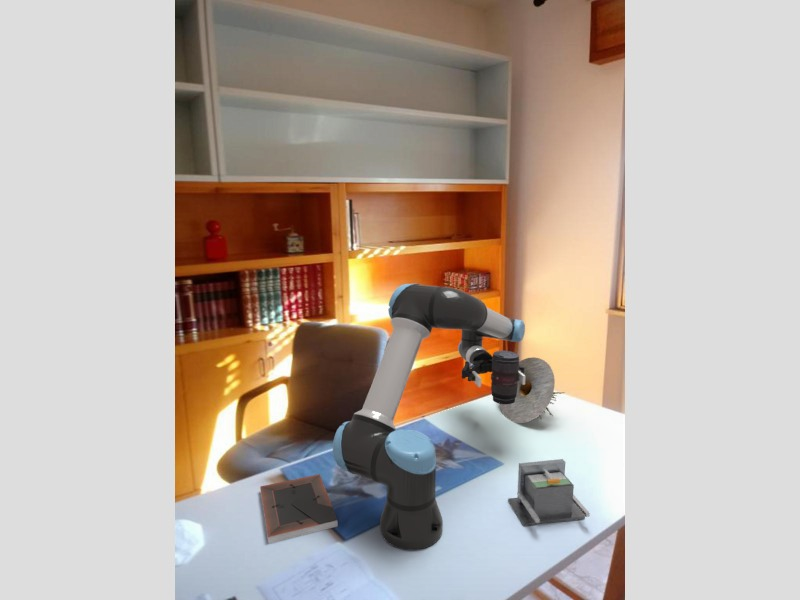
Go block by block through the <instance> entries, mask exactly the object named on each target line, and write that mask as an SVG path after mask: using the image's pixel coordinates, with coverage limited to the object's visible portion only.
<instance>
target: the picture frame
mask: <svg viewBox="0 0 800 600" xmlns="http://www.w3.org/2000/svg"><path fill="white" fill-rule="evenodd" d="M259 488H260V495H261V502H262V511H263V516H264V517H263V518H264V523H265V530H266V535H267V543H268V544H273V543H274V544H275V543H277V542H281V541H282V542H283V541H285V540H289V539H293V538H297V537H301V536H304V535H308V534H313V533H317V532H320V531H324V530H329V529H333V528H337V527H339V524H338V518H337V515H336V512H335V510H334V507H333V505H332V502H331V500H330V497H329V495H328V491H327V489H326V486H325V484H324V481H323V479H322V476H321V474H320V473H317V474H313V475H309V476H304V477H299V478H294V479H289V480H285V481H280V482H275V483H271V484H267V485H266V484H265V485H261V486H260V487H259Z"/></svg>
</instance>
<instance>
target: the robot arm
mask: <svg viewBox="0 0 800 600" xmlns="http://www.w3.org/2000/svg"><path fill="white" fill-rule="evenodd" d="M388 306H389V308H388V314H389V315H388V316H389V318H390V324H391V326H392V332H391V335H390V336H389V340H388V341H387V344H386V347H385V349H384V352H383V355H382V357H381V360H380V361H379V365H378V367H377V370H376V372H375V375H374V378H373V380H372V383H371V386H370V388H369V390H368V393H367V395H366V397H365V401H364V402H363V406H362V409H360V410H358V411H356V412H354V413H353V415H352V418H351V420H348V421H344V422H343V423H342V424H341V425H339V427H338V428H337V429H336V432H335V435H334V437H333V440H332V441H333V442H332V454H333V458H334V461H335V463H336V465H337V466H338V467H339V468H340V469H342V470H344V471H347V472H348V473H349V474H352V475H356V476H360V477H362V478H364V479H367V480H370V481H373V482H375V483H379V484H380V485H384V486H385V487H386V501H385V503H384V505H383V506H384V507H383V510H382V512H381V515H380V520H379V531H380V534H381V536H382V538H383V540H385V542H386V543H388V544H389V545H391V546H393V547H395V548H399V549H401V550H408V551H413V550H414V551H416V550H422V549H426V548H428V547H430V546H433V545H434V544H435V543H436V542H437V541H439V540H440V538H441V536H442V534H443V530H444V529H443V523H444V522H443V516H442V514H441V511H440V508H439V505H438V502H437V499H436V486H437V485H436V478H437V477H436V474H437V473H436V472H437V469H436V468H437V467H436V466H437V457H436V456H437V455H436V448H435V444H434V443H433V441H432V440H431V438H430V437H429V436H428V435H426V434H424V433H423V432H420V431H418V430H414V429H409V428H408V429H403V428H402V429H401V428H400V429H397V428H396V426H395V423H394V418H395V416H396V415H397V414H396V413H397V411H398V408H399V405H400V403H401V399H402V397H403V394H404V391H405V388H406V386H407V384H408V383H407V382H408V380H409V378H410V375H411V372H412V369H413V367H414V365H415V361H416V358H417V355H418V353H419V351H420V350H419V349H420V347H421V344H422V342H423V340H425V339H427V338H429V337H430V335H431V333H432V330H433V328H434V329H443V330H460V331H461V339H460V342H459V344H458V345H457V351H458V353H459V355H460V357H461V358H462V359H463V360H464V366H463V368H462V369H461V379H463V380H464V379H466V378H467V382H474V384H475V385H476V386H477V387H478V388H482V377H481V376H480V375H481V374H483V375H484V374H486V373H492V357H493V354H492V355H491V353H490V352H488V351H487V350H486V349H485V348H484V347H483V341H484V338H489V339H496V340H500V341H501V340H502V341H508V342H512V343H513V342H515V343H516V342H517V343H520V342H522V341H523V339H524V338H525V332H526V326H525V325H526V323H525V321H523V320H521V319H517V318H509V317H508V316H505V315H503V314H501V313H499V312H497V311H495V310H493V309H491V308H490V307H487V306H486V304H485V303H484V301H482V300H481V299H479V298H477V297H475V296H473V295H472V294H469V293H467V292H465V291H462V290H459V289H456V288H454V287H450V286H438V285H429V284H428V285H426V284H419V283H405V284H401V285H400V286H398V287H397V288H395V290H394V291H393V293H392V294H391V296H390V298H389V302H388ZM518 381H519V382H520V383H521V384H522V385H525V375H524V367H521V366H519V371H518Z"/></svg>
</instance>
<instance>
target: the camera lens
mask: <svg viewBox="0 0 800 600" xmlns="http://www.w3.org/2000/svg"><path fill="white" fill-rule="evenodd" d="M519 357H520V355H519V354H518V353H516V352H514V351H510V350H496V351H494V352H493V353H492V372H491V374H490V380H491V383H490V385H491V386H490V390H491V396H492V400H493V402H494V403H496V404H499V405H500V404H512V403H514V402H515V398H516V396H517V388H518V384H517V383H518V371H519V361H520V358H519Z"/></svg>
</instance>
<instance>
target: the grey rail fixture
mask: <svg viewBox="0 0 800 600" xmlns="http://www.w3.org/2000/svg"><path fill="white" fill-rule="evenodd" d="M555 472H562V473H563V474H564V475H565V476H566V474H565V473H566V461H565V459H563V458H559V459H550V460H540V461H528V462H518V476H517V491H516V492H517V493H516V495H517V497H516V498H517V500H518V502H519V503H523V504H524V506H525V507H526V509H527V510H528V512H529V513H530V515H531V516H532V518H533V519H534V521H535V522H536V523H540V519H539V517H538V516H537V514H536V513H535V512H534V510H533V509H532V507H531V506H530V504H529V503H528V501H527V500H526V498H525V497H524V487H525V476H526V475H536V474H545V475H546V477H547V478H548V479H549V480H547V484H548V485H550V484H559V483H560V479H559V478H558V479H554V478H553V477H552V476H551V474H550V473H555ZM573 502H574V504H575V505H576V506H577V507H578V508H579V510H580V511H581V512H582V513H583V514H584V516H585V518H589V517H590V514H591V513H590V512H589V511H588V510H587V508H586V507H585V506H584V505H583V504H582V502H581V501H580V500H579V499H578V497H576V495H575V494H574V493H573Z"/></svg>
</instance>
